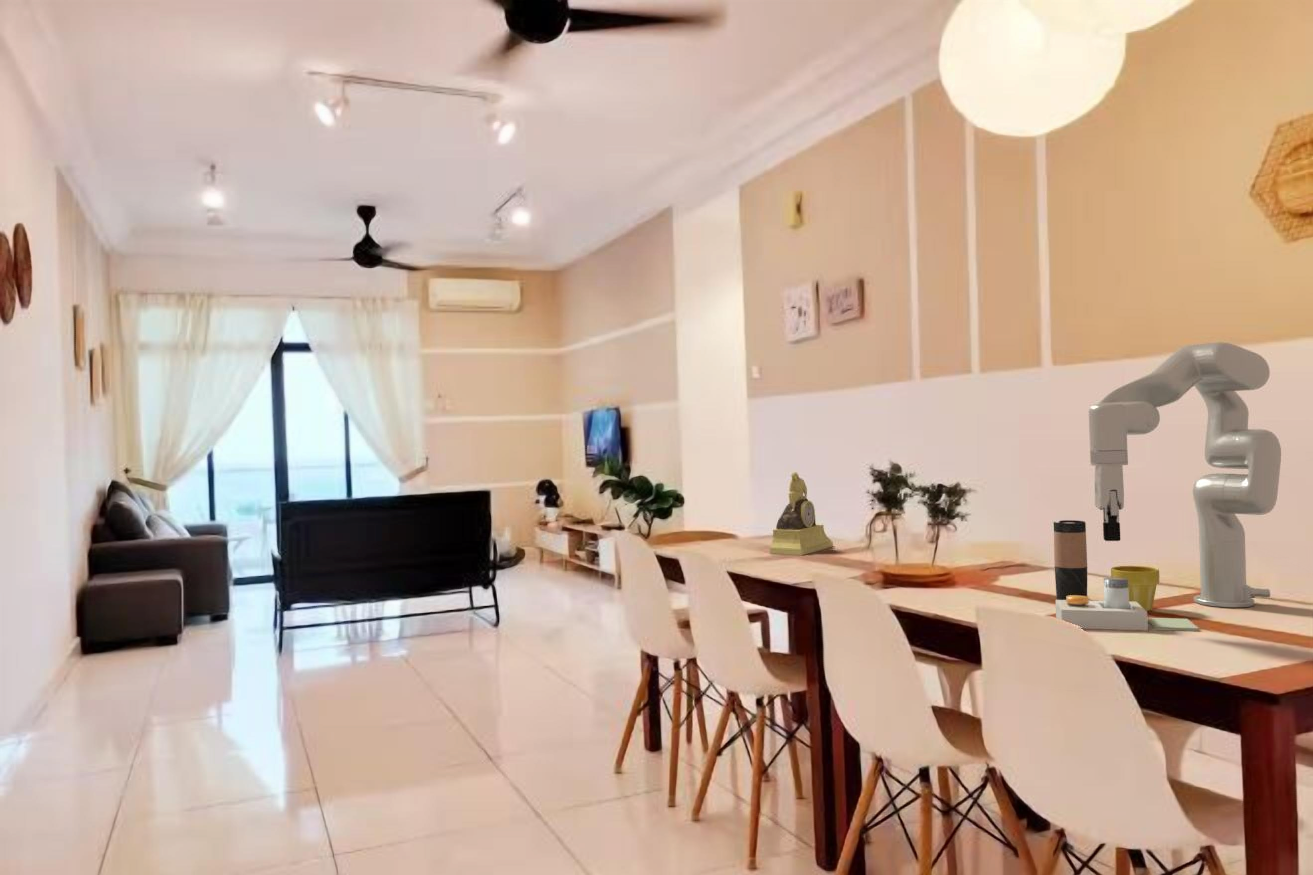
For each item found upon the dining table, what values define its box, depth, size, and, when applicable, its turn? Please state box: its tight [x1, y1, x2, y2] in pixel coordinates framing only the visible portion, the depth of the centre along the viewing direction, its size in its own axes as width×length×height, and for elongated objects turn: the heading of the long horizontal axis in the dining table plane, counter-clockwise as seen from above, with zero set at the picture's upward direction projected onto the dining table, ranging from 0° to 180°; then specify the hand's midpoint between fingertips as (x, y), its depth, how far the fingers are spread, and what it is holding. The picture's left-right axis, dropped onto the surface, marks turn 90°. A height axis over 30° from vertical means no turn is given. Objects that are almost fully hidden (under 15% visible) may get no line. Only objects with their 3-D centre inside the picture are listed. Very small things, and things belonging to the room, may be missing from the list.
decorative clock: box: [769, 471, 834, 556], centre depth 346 cm, size 28×13×30 cm, turn 146°
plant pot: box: [1110, 565, 1160, 612], centre depth 220 cm, size 10×10×10 cm
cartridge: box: [1103, 577, 1129, 609], centre depth 204 cm, size 5×5×10 cm
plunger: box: [1066, 595, 1090, 607], centre depth 207 cm, size 5×5×4 cm
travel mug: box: [1053, 519, 1088, 600], centre depth 233 cm, size 8×8×20 cm
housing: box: [1055, 599, 1149, 631], centre depth 205 cm, size 17×12×4 cm
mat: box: [1147, 617, 1200, 632], centre depth 201 cm, size 8×10×1 cm
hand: (1112, 540), depth 204 cm, fingers closed
